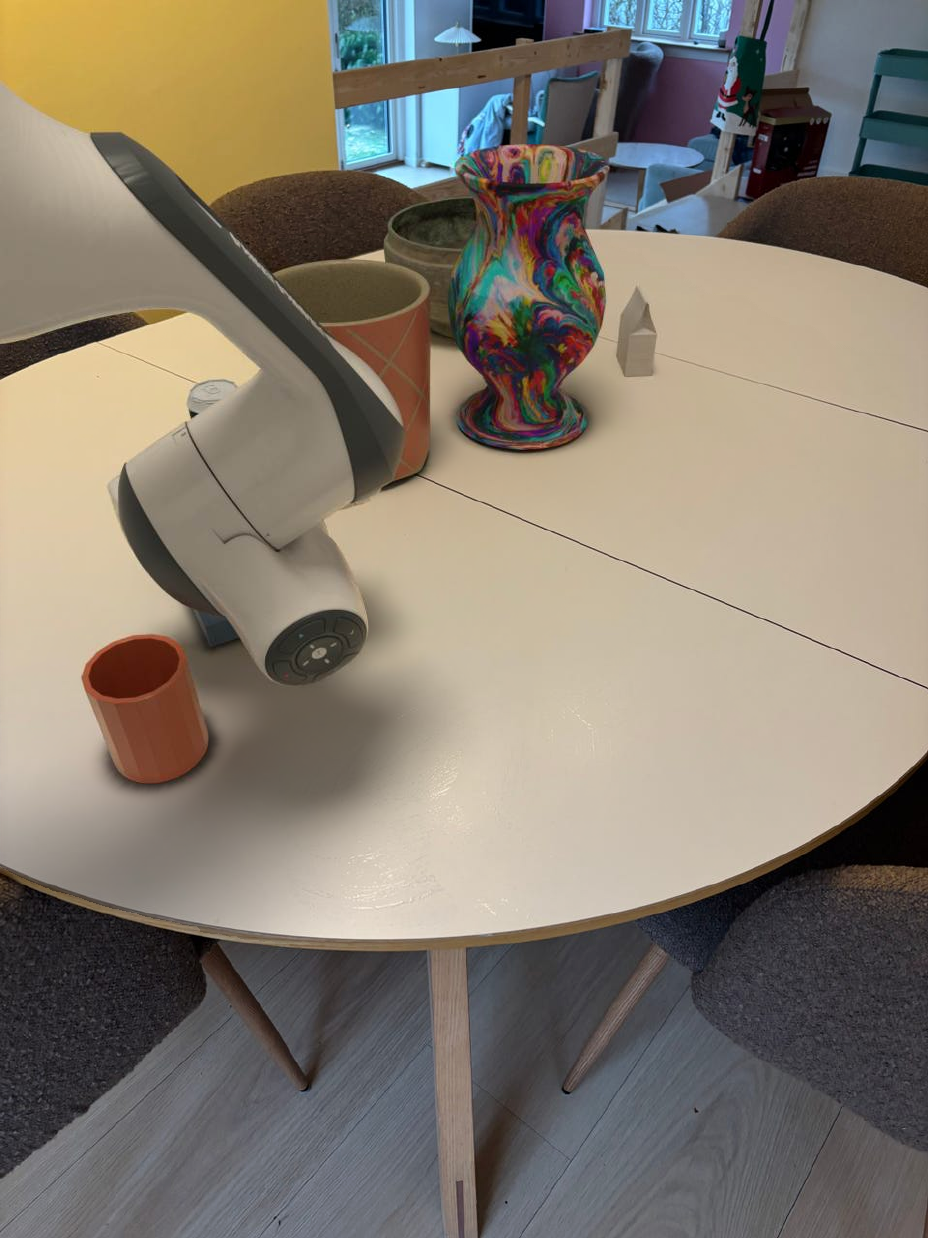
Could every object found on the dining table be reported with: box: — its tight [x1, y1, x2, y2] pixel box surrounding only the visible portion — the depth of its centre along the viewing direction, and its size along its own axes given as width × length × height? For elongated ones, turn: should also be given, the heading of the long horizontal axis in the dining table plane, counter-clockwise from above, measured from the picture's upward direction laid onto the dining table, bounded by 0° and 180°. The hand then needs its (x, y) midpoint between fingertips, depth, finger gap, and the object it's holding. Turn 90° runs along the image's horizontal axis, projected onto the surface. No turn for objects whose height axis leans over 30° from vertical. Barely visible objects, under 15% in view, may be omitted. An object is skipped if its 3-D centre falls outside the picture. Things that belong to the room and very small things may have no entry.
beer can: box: [186, 378, 239, 419], centre depth 78 cm, size 5×5×12 cm
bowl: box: [383, 196, 477, 339], centre depth 133 cm, size 32×26×15 cm
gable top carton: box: [615, 285, 658, 378], centre depth 122 cm, size 4×7×10 cm, turn 2°
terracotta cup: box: [81, 633, 209, 784], centre depth 69 cm, size 7×7×9 cm
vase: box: [447, 143, 611, 450], centre depth 104 cm, size 18×18×30 cm
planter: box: [272, 258, 431, 482], centre depth 101 cm, size 19×19×20 cm
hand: (223, 442), depth 78 cm, fingers closed on beer can, 5 cm apart
